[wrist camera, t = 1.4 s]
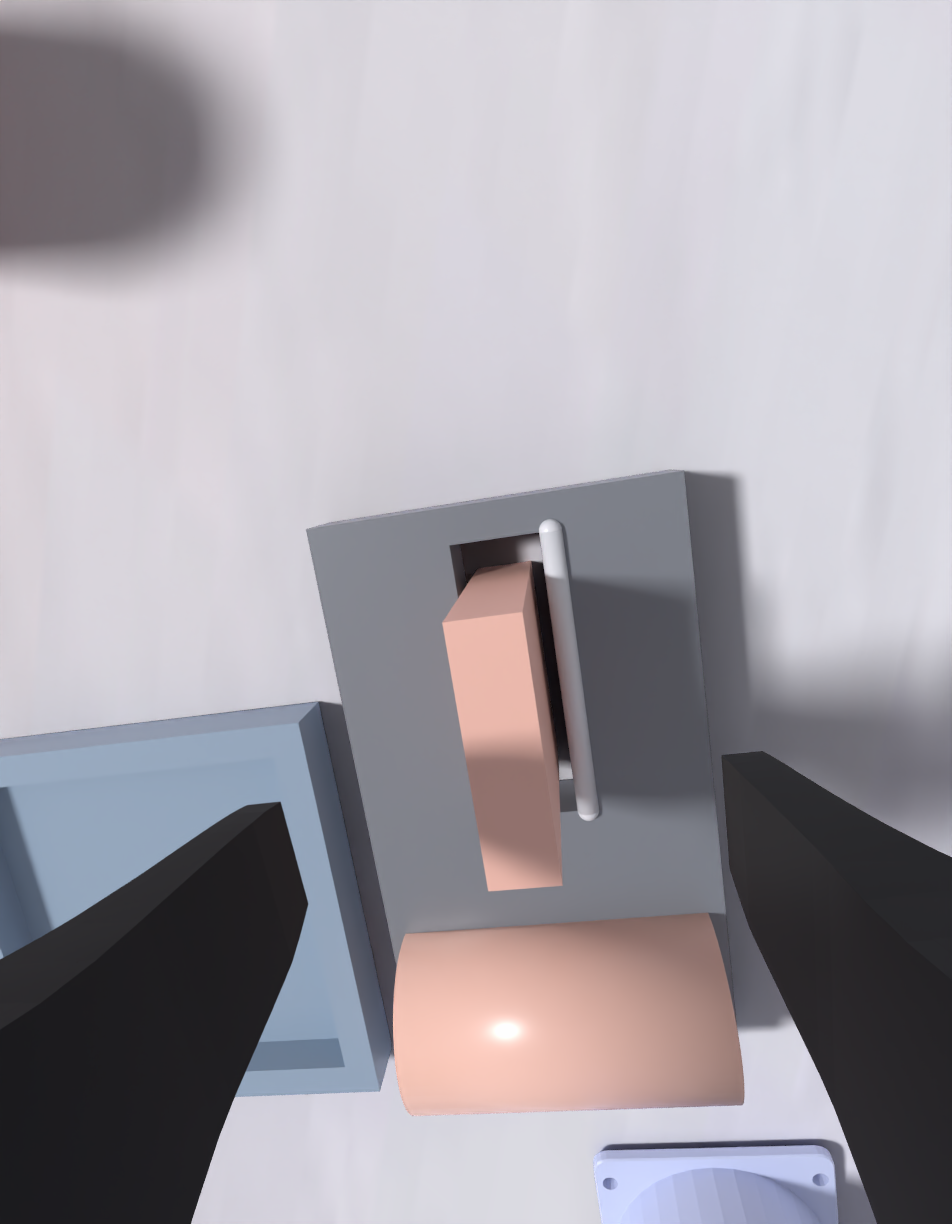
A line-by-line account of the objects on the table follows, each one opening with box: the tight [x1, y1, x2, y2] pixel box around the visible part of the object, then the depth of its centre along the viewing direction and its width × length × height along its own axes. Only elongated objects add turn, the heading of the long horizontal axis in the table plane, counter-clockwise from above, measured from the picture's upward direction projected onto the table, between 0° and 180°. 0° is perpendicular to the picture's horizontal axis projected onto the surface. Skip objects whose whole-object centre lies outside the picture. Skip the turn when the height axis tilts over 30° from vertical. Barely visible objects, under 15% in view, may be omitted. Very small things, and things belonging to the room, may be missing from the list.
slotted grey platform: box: [306, 470, 744, 1116], centre depth 19 cm, size 18×10×5 cm, turn 9°
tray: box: [0, 702, 392, 1097], centre depth 23 cm, size 13×13×2 cm
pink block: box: [442, 561, 563, 892], centre depth 17 cm, size 6×2×7 cm, turn 9°
